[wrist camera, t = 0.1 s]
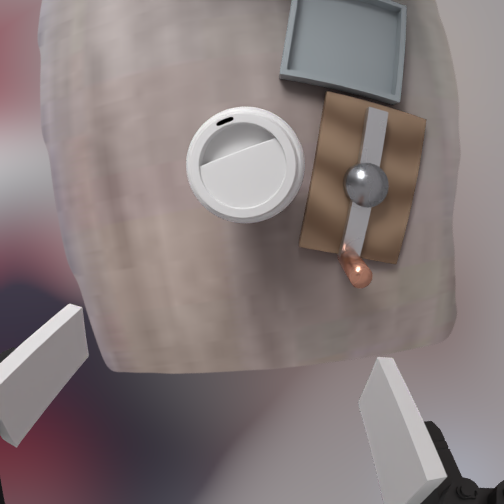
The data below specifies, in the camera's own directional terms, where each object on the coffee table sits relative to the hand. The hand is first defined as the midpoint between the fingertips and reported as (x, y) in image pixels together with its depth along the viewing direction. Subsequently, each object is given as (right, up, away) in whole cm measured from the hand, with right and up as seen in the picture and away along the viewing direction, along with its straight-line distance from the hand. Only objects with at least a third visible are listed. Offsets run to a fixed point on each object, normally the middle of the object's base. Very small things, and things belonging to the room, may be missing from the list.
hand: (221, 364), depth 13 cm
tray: (+13, +31, +19) cm, 38 cm away
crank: (+14, +13, +23) cm, 30 cm away
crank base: (+15, +14, +24) cm, 31 cm away
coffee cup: (+2, +15, +25) cm, 29 cm away
